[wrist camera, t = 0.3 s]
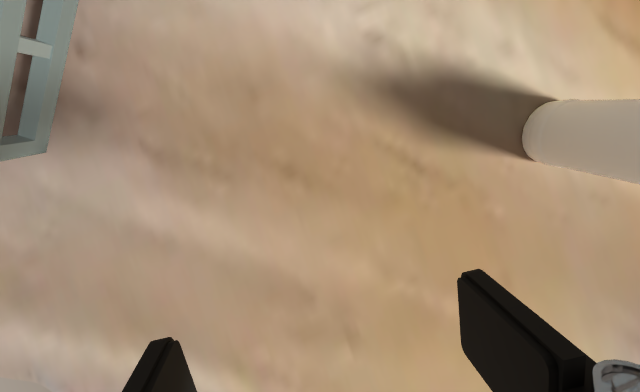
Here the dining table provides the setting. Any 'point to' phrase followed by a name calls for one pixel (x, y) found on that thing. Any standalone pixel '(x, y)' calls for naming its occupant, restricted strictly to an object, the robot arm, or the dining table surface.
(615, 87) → the dining table surface
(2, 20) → the gate
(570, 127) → the bottle
